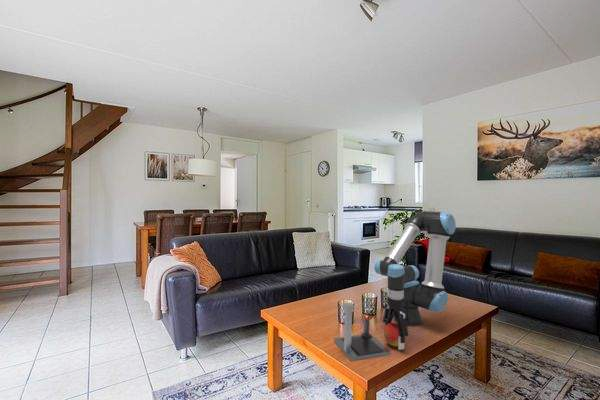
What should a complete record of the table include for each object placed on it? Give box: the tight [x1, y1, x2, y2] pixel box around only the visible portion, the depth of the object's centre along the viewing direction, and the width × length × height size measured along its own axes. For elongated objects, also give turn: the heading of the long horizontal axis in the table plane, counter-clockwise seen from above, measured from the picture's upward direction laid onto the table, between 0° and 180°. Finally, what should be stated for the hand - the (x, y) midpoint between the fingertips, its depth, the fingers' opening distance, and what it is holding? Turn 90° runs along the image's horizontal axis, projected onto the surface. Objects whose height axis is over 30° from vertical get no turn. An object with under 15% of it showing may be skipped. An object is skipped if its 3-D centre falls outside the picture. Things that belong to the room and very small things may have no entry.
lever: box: [360, 314, 372, 338], centre depth 148 cm, size 4×3×11 cm
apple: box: [383, 322, 407, 347], centre depth 143 cm, size 10×10×10 cm
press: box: [333, 302, 392, 362], centre depth 140 cm, size 21×18×22 cm
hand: (394, 343), depth 143 cm, fingers closed on apple, 9 cm apart
